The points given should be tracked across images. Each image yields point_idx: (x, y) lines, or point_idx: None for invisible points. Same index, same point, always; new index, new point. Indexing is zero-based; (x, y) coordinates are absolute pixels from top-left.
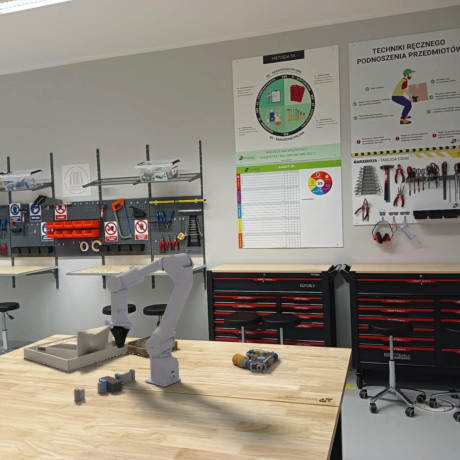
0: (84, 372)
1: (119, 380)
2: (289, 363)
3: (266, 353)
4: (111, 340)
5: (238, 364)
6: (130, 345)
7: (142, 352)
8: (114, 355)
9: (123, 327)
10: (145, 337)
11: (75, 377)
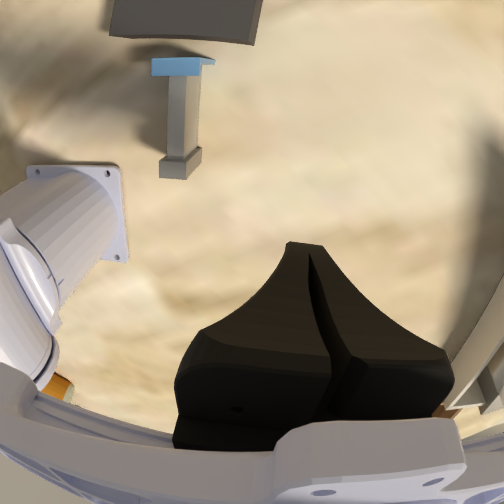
0: (494, 149)
1: (123, 30)
2: None
3: None
4: (502, 392)
5: None
6: (446, 410)
7: None
8: (468, 344)
9: (175, 438)
10: None
11: (487, 76)
